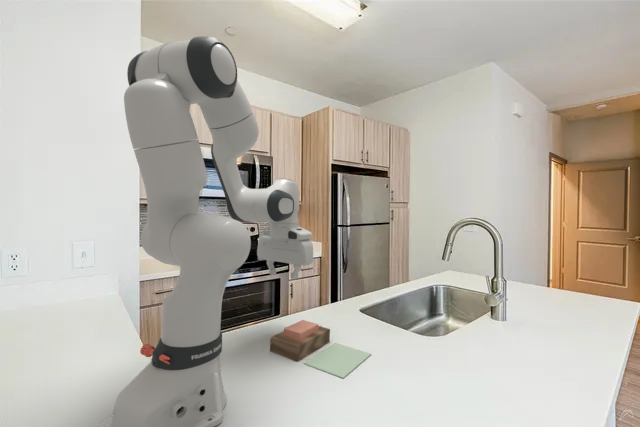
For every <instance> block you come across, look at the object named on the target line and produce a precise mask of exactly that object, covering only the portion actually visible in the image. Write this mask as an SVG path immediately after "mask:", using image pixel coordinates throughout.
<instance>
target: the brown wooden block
mask: <svg viewBox="0 0 640 427" xmlns="http://www.w3.org/2000/svg"><path fill="white" fill-rule="evenodd" d="M330 335H331V329H330V328H329V327H328V328H327V327H323V326H320V325H319V326H318V331H317V332H315V333H313V334H312V335H310V336H308V337H306V338H304V339H302V340H297V339H294V338H291V337H288V336H285V335H284V330H283V331H281V332H279V333H276V334H274V335H272V336H270V337H269V338H270V341H269V342H270V343H269V352H271V353H274V354H275V355H279V356H280V357H285V358H287V359H289V360H292V361H295V362H297V363H298V362H299V361H301V360H303V359H305V358H306V357H308V356H309V355H311V354H313V353H314V352H316V351H317V350H319V349H320V348H322V347H324V346H326V345H327V344H329V343H330V341H331V340H330V339H331V336H330Z"/></svg>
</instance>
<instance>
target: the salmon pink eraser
mask: <svg viewBox="0 0 640 427" xmlns="http://www.w3.org/2000/svg"><path fill="white" fill-rule="evenodd" d="M319 324H320V323H319ZM319 324H318V323H315V322H311V321H307V320H304V319H301V320H299V321H297V322H295V323H292V324H290V325H289V326H286V327H284V329H283V331H284V335H285V336H288V337H291V338H294V339H297V340H302V339H304V338H306V337H308V336H310V335H312V334H313V333H315V332H317V331H318V326H320V325H319Z"/></svg>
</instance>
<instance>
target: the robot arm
mask: <svg viewBox="0 0 640 427" xmlns="http://www.w3.org/2000/svg"><path fill="white" fill-rule="evenodd" d="M126 75H127V82H128V87H127V88H126V90H125V92H124V95H123V101H124V102H123V104H124V105H123V106H124V112H125V113H124V114H125V120H126V121H125V122H126V125H127V130H128V134H129V138H130V142H131V146H132V148H133V153H134V155H135V158H136V161H137V164H138V165H137V166H138V168H139V172H140V175H141V178H142V182H143V185H144V189H145V195H146V204H147V211H146V212H147V215H146V217H147V218H146V220H147V221H146V223H145V225H144V226H143V228H142V230H141V234H140V244H141V247H142V249H143V251H145V253H146V254H147V255H148V256H150V257H152V258H154V259H156V260H157V261H158V262H160V263H163V264H167V265H172V266H177V267H179V268H180V269H179V276H178V278H177V283H176V285H175V287H174V289H173V290H172V291H170V292H168V293H167V294H166V295H165V297H164V299H163V300H162V305H161V307H162V308H161V336H160V338H159V340H158V342H157V344H156V347H154V345H151V344H150V343H145V344H142V346H141V347H140V350H139V352H140V354H141V355H142V356H145V357H146V358H150V357H151V358H150V359H151V360H150V362H149V363H148V364H147V365H146V366H145V367H144V368H143V369H142V370H140V372H139V373H138V374H137V375H136V376H135V377H134V378H133V379H132V380H131V381H130V382H129V383H128V384H127V385H126V386H125V387H124V388H122V389H121V391H120V392H119V393H118V395H117V397H116V400H115V402H114V406H113V411H112V415H111V416H109V417H108V418H106V419H104V420H103V421H101V422H100V423H99V424H98V426H97V427H216V426H218V425H219V424H221V423H223V418H224V416H223V410H224V408H225V406H226V403H227V395H226V392H225V389H224V383H223V378H222V368H221V367H222V366H221V353H222V351H223V333H222V330H221V322H222V319H221V318H222V303H223V296H224V294H225V291H226V286H227V284H228V282H229V280H230V278H231V276H232V275H233V274H234V272H235V271H236V270H238V269H240V268H241V267H242V266H243V265H244V263H246V260H248V257H249V254H250V252H251V247H252V243H251V242H252V240H251V234H250V232H249V230H248V228H247V226H246V225H245V224H244V223H251V222H253V223H254V222H255V223H269V230H266V229H265V230H262V231H261V232H260V233H259V236H258V238H259V239H258V242H257V243H258V244H257V250H256V256H257V258H258V259H260V260H265V261H266V265H267V268H268V270H269V271H268V272H269V273H268V274H269V275H271V276H272V275H273V276H274V275H276V274H277V268H275V265H274V263H275V262H277V263H283V264H284V263H285V264H290V265H293V268H294V270H293V271H292V272H290V279H293V280H297V279H298V278H299V272H300V270H301V268H302V266H303V267H305V266H309V265H312V263H313V262H314V245H313V242H312V240H311V239H313V233H312V232H311V231H309V230H307V229H305V228H304V227H302V226H300V225H299V224H300V222H299V221H300V220H299V211H300V193H299V186H298V184H297V182H296V181H294V180H292V179H288V178H276V179H273V182H272V185H270V186H268V187H266V188H250V187H248V186H246V185H244V183H243V181H242V180H243V179H242V177H241V173H240V170H239V167H238V164H237V162H238V159H239V158H241V157H242V156H244V155H245V154H246V153H248V152H249V151H250V150H251V149H252V148H253V147H254V146H255V144H256V142H257V141H258V138H259V134H260V133H259V132H260V131H259V130H260V129H259V125H258V121H257V118H256V116H255V114H254V111H253V109H252V106H251V104H250V101H249V99H248V97H247V95H246V93H245V92H244V89H243V88H242V86H241V84H240V82H239V81H238V68H237V63H236V60H235V58H234V55H233V53H232V51H231V50H230V49H229V47H228V46H227V45H226V44H224V42H223V41H221V40H220V39H219V38H217V37H215V36H210V35H207V36H205V35H202V36H200V35H199V36H194V37H193V38H190V39H185V40H179V41H178V40H177V41H174V42H173V41H172V42H166V43H163V44H160V45H158V46H156V47H153V48H151V49H149V50H143V51H141V52H140V53H138V54H136V55H135V56H134V57H133V58H131V60H130V62H129V63H128V66H127V74H126ZM194 104H197V105H198V106H199V109H200V111H201V113H202V117H203V118H204V121H205V122H206V123H205V124H206V126H207V128H208V129H209V132H210V135H211V138H212V144H211V146H210V153H211V159H212V162H213V165H214V168H215V171H216V174H217V177H218V180H219V182H220V186H221V189H222V190H223V193H224V198H225V202H226V207H227V212H228V214H229V216H230V217H227V216H225V215H222V214H210V213H208V214H205V213H201V210H200V203H199V202H200V193H201V190H203V189H204V188H205V186H206V184H207V183H208V172H207V168H206V165H205V160H204V156H203V152H202V149H201V145H200V142H199V138H198V134H197V130H196V127H195V124H194V121H193V118H192V115H191V113H190V112H191V110H190V109H191V105H194Z"/></svg>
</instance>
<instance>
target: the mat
mask: <svg viewBox="0 0 640 427" xmlns="http://www.w3.org/2000/svg"><path fill="white" fill-rule="evenodd" d="M371 355H372V353H369V352H367V351H363V350H360V349H357V348H354V347H349V346H347V345H344V344H340V343H338V342H334V343H332V344H331V345H329V346H328V347H326V348H324V349H323V350H322V351H320V352H318V353H316V354H315V355H314V356H312V357H310V358H309V359H308V360H305V361H304V362H303V364H304V365H306V366H308V367H311V368H314V369H316V370H319V371H321V372H323V373H327V374H329V375H332V376H334V377H337V378H339V379H343V380H344V379H345V378H347V376H349V375H350V374H351V373H352V372H353V371H354V370H356V369H357V367H359V366H360V365H361V364H363V363H364V361H366V360H367V359H368V358H369V357H370V356H371Z"/></svg>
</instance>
